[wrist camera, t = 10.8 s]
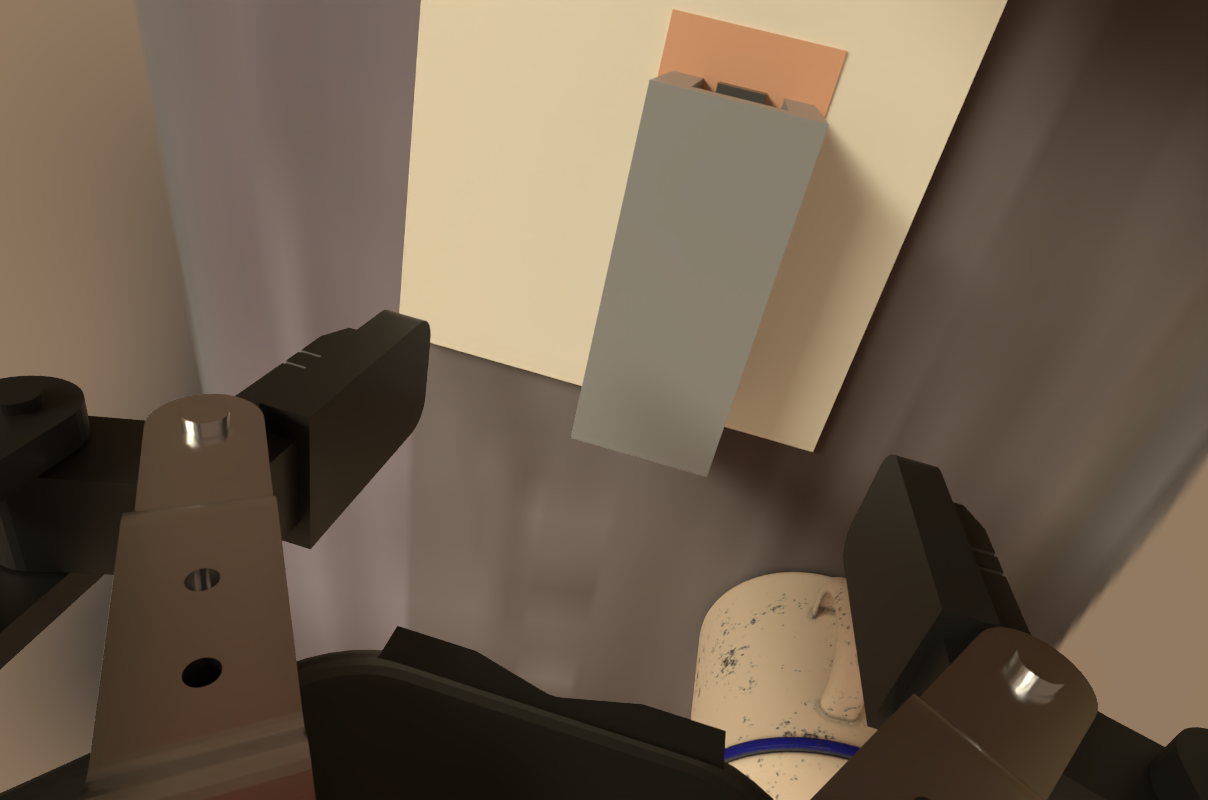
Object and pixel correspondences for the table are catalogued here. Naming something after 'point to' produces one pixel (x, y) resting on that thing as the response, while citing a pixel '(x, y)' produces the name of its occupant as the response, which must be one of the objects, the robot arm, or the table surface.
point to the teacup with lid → (783, 681)
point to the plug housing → (692, 267)
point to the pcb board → (604, 153)
